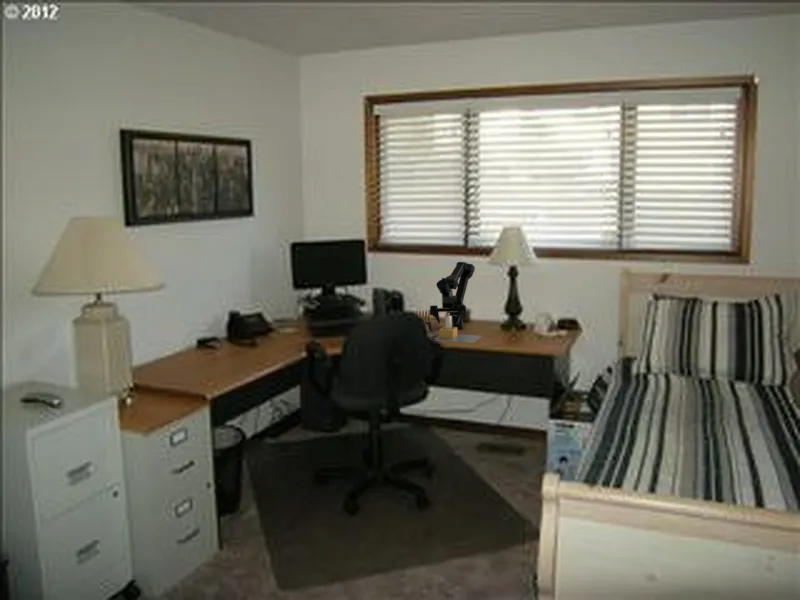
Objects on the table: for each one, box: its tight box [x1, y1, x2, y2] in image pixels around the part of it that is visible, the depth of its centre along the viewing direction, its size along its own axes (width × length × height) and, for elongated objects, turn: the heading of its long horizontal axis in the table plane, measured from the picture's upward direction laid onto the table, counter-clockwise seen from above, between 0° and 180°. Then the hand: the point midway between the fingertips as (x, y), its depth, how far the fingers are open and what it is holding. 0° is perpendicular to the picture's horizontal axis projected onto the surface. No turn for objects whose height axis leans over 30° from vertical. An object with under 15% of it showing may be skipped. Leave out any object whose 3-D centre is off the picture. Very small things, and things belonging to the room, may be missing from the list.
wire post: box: [444, 312, 453, 330], centre depth 362 cm, size 4×4×12 cm
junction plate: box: [433, 326, 482, 344], centre depth 360 cm, size 16×22×6 cm
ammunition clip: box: [412, 309, 433, 332], centre depth 380 cm, size 11×2×12 cm, turn 107°
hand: (448, 323), depth 361 cm, fingers open, 9 cm apart
